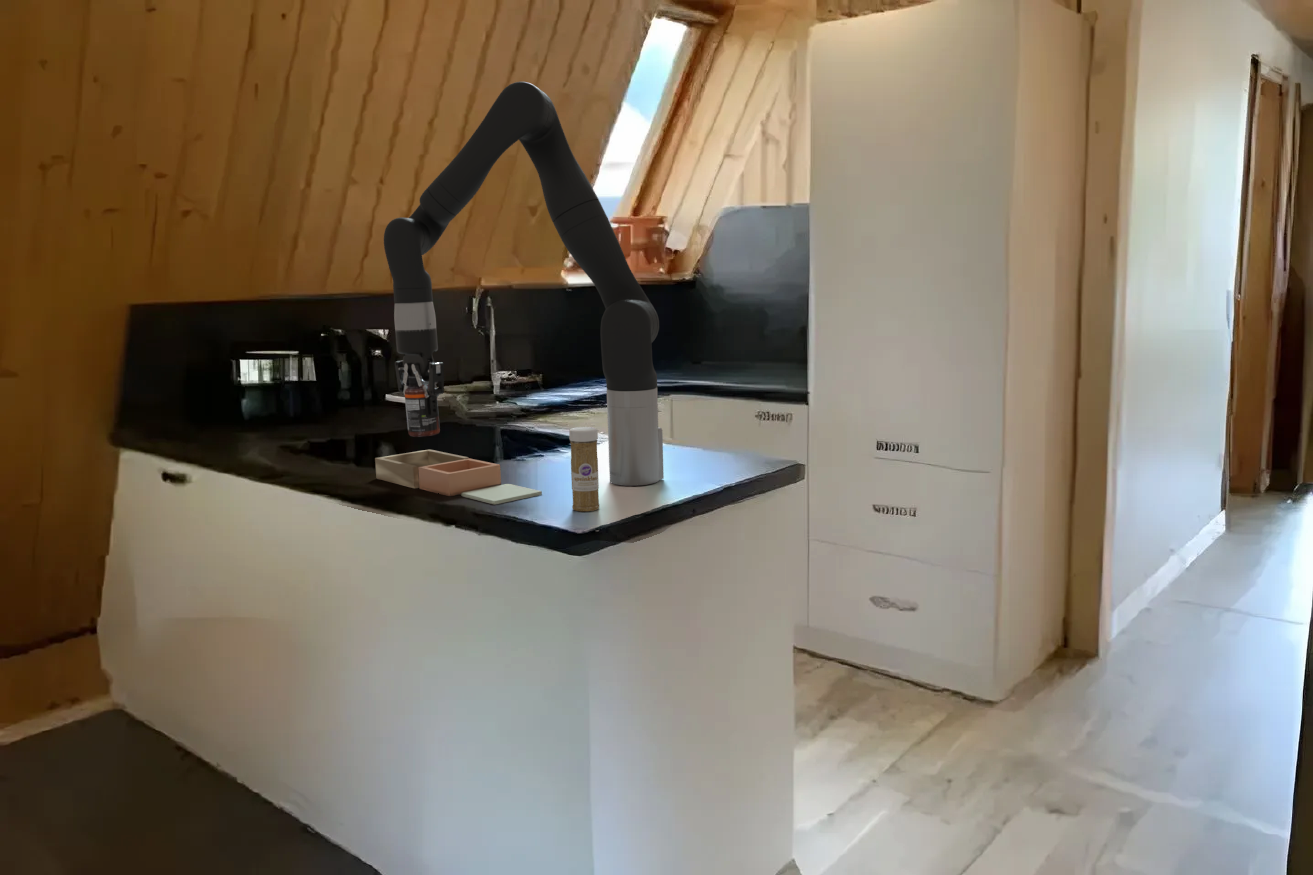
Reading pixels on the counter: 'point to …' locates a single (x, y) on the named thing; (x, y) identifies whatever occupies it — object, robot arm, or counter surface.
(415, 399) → the supplement bottle
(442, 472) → the pink open box
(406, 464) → the beige open box
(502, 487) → the pad
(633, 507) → the counter surface
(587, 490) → the sprinkles bottle
